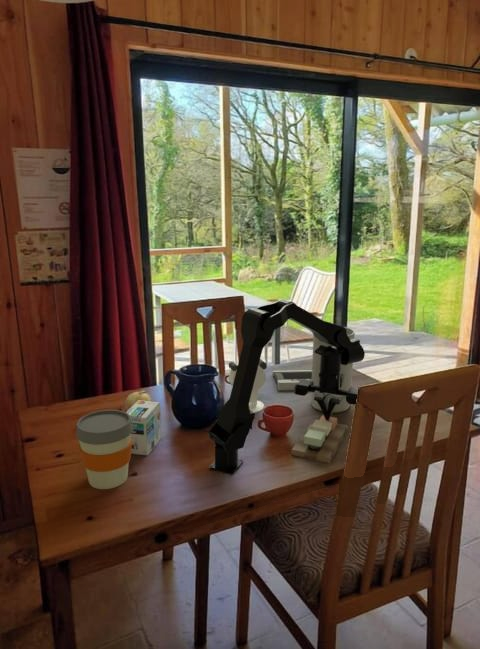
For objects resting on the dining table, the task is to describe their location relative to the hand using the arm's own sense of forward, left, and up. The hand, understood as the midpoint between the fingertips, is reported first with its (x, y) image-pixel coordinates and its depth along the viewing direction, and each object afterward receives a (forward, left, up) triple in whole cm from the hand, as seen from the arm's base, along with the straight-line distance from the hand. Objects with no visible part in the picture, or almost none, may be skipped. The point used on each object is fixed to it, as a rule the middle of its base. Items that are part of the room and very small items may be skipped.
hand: (327, 419), depth 139 cm
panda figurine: (+7, +28, -4) cm, 29 cm away
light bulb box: (-28, +43, -4) cm, 52 cm away
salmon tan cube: (0, 0, -4) cm, 4 cm away
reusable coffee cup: (-45, +41, -4) cm, 61 cm away
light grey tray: (+35, +20, -4) cm, 40 cm away
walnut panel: (-6, 0, -4) cm, 8 cm away
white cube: (-6, 0, -2) cm, 7 cm away
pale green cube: (-13, 0, -2) cm, 13 cm away
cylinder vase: (+19, +4, -4) cm, 19 cm away
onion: (-11, +57, -4) cm, 58 cm away
